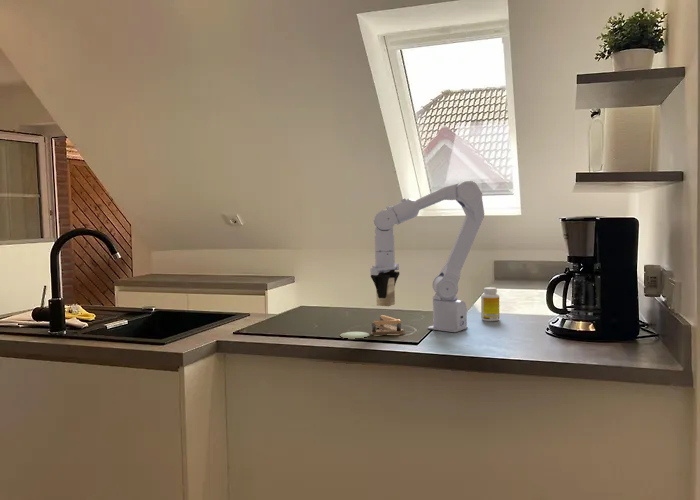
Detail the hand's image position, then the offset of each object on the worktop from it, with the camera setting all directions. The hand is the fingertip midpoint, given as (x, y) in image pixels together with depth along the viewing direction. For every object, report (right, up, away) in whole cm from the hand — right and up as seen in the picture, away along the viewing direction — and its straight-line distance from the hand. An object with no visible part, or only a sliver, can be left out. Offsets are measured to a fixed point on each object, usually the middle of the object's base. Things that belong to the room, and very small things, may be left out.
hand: (385, 296), depth 173 cm
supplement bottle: (+34, -9, +12) cm, 37 cm away
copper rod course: (0, -10, -3) cm, 11 cm away
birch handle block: (0, -2, 0) cm, 2 cm away
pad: (-9, -11, -7) cm, 16 cm away
